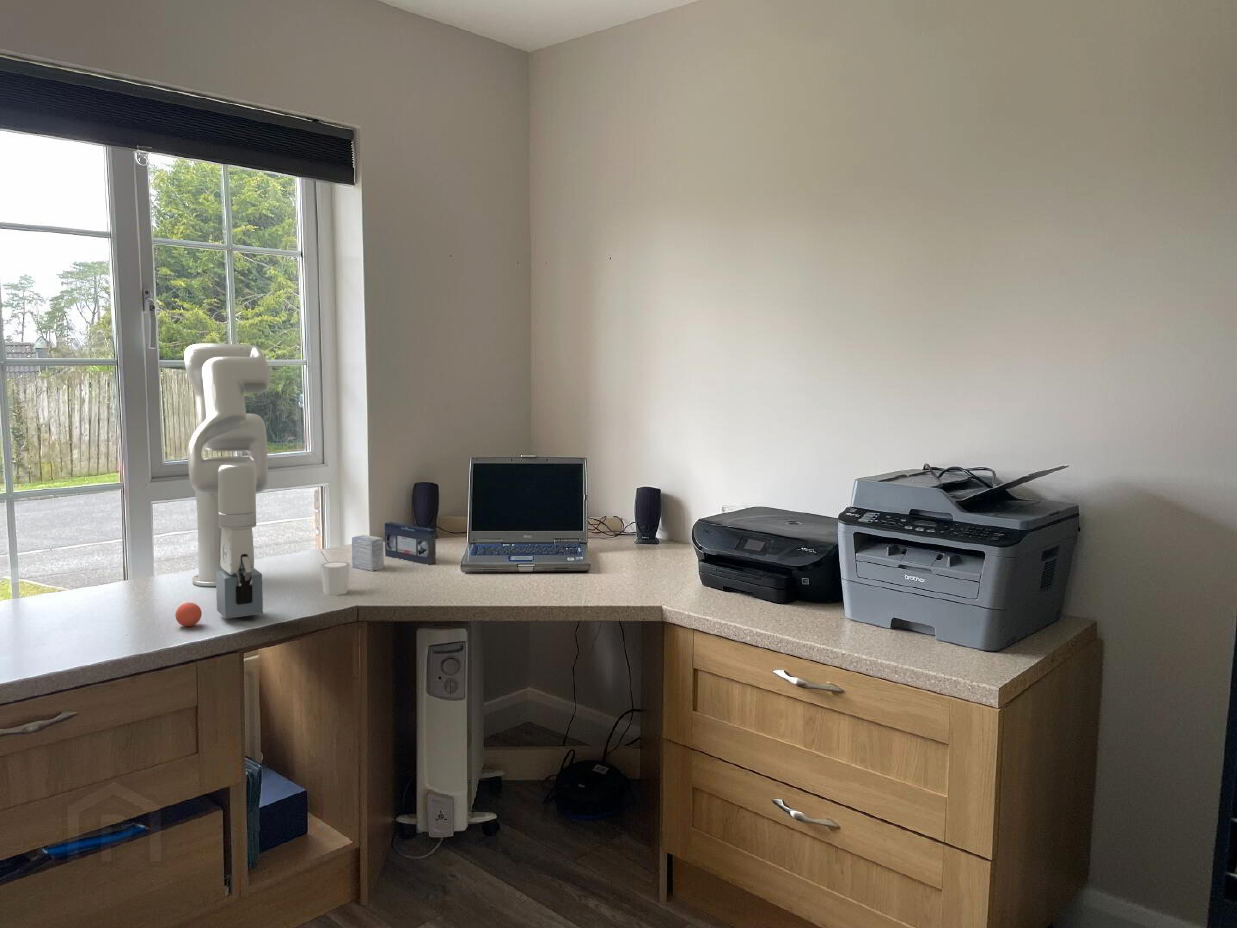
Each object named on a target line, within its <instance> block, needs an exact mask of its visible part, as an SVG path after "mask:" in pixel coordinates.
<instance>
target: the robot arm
mask: <svg viewBox="0 0 1237 928" xmlns="http://www.w3.org/2000/svg"><path fill="white" fill-rule="evenodd" d="M183 357H184V359H183V360H184V362H183V363H184V367H185V371H186V374H187V377H188V380H189V382H190V384H191V386H192V388H193V391H194V395H195V400H196V401H195V403H196V405H195V406H196V429H195V431H194V432H193V434H192V435H191V438H190V441H189V442H188V446H187V463H188V477H189V478H188V479H189V483H190V486H191V487H192V489H193V490H194V492H195V493H194V494H195V500H196V514H197V518H196V519H197V521H196V522H197V548H198V549H197V551H198V553H197V554H198V555H197V556H198V557H197V558H198V574H196V575H194V576H193V577H192V579H191V581H192V584H194V585H195V586H201V587H216V571H221V570H225V571H226V572H227V573H229V574H230V575H233V574H234V573H236V577H237V584H238V586H236V603H237V604H238V605H240V604H247V603H252V578H251V577H252V576H251V573H252V571H253V570H254V567H255V550H254V549H255V548H254V547H255V546H254V535H253V528H256V527H257V495H256V494H259V493H262V492H264V491H265V490H266V489H267V486H268V481H269V469H268V468H269V466H268V436H267V429H266V428H267V427H266V424H265V421H264V419H263V418H262V417H261V416H260V415H259V414H256V413H247V409H246V402H245V401H246V400H245V394H246V393H247V394H248V393H252V394H253V393H254V394H255V393H260V394H261V393H265V392H266V391H267V390H268V389H269V386H270V381H271V379H270V378H271V373H270V368H269V365H268V362H267V360H266V357H265V356H264V353H263V351H262V350H261V349H260V347H259V346H257V345H253V344H238V343H237V344H235V343H233V344H231V343H209V342H208V343H206V342H205V343H203V342H202V343H195V344H191V345H189V346H188V347H186V349H185V350H184V356H183ZM202 450H203V451H207V452H246V454H247V455H248V456H211V457H205V458H203V457H202ZM238 570H244V571H240V572H239V571H238ZM242 575H243V576H242ZM240 576H242V577H241V578H240Z"/></svg>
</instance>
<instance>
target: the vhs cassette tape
mask: <svg viewBox="0 0 1237 928" xmlns="http://www.w3.org/2000/svg"><path fill="white" fill-rule="evenodd" d="M436 533H437V532H436V529H433V528H428V527H422V526H415V525H410V524H405V523H404V524H403V523H398V522H392V521H390V522H385V523H384V556H385V557H387V556H388V557H387V558H392V559H396V558H399V559H398V560H401V559H403V560H402V561H406V560H407V561H406V562H412V563H417V564H421V565H426V564H428V565H427V566H432V565H435V564H437V562H436V561H437V558H436V555H437V554H436V553H437V550H436V549H437V548H436V546H437V545H436V543H437V541H436V539H437V538H436V536H437V535H436ZM431 564H432V565H431Z"/></svg>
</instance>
